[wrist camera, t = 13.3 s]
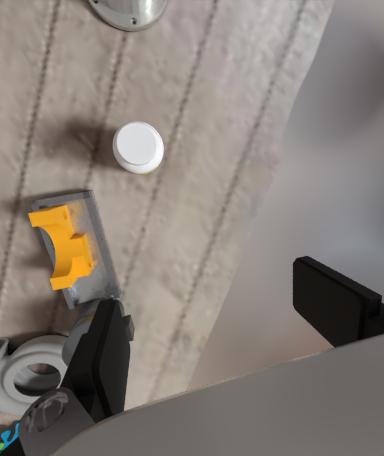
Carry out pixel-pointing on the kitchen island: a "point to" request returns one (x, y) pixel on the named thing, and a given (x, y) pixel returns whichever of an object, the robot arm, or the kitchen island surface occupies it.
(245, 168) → the kitchen island surface
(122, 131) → the supplement bottle
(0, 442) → the gear
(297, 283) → the robot arm
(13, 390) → the turbocharger housing
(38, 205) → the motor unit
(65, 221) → the pipe clamp
